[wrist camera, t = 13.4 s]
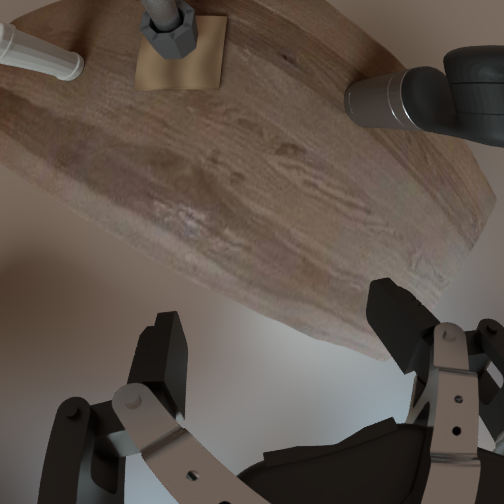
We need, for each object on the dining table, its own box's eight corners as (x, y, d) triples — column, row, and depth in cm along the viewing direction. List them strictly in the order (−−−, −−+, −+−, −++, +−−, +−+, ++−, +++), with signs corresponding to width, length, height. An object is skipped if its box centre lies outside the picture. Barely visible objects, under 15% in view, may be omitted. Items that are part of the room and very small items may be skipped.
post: (227, 19, 34) (249, -107, 5) (219, 90, 39) (227, 3, 10) (146, 21, 31) (75, -82, 2) (136, 91, 37) (19, 41, 8)
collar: (199, 24, 29) (196, -2, 21) (195, 58, 31) (189, 39, 23) (158, 25, 28) (145, 2, 20) (153, 60, 31) (137, 42, 22)
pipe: (66, 54, 31) (-42, 18, 4) (92, 54, 32) (-14, 4, 5) (57, 81, 33) (-60, 64, 6) (83, 82, 34) (-36, 56, 7)
